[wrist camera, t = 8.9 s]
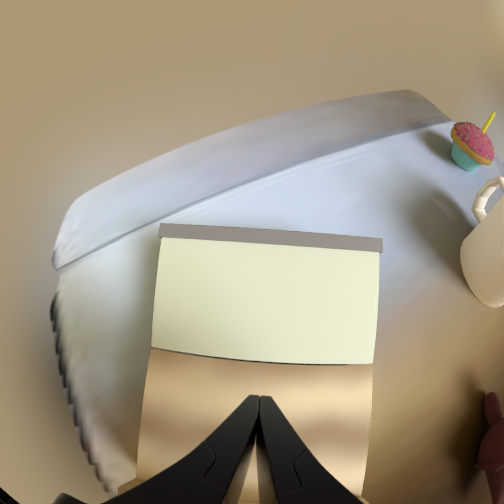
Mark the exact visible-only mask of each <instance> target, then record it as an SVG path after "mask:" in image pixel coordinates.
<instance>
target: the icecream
mask: <svg viewBox="0 0 504 504" xmlns="http://www.w3.org/2000/svg"><path fill="white" fill-rule="evenodd" d="M484 413H485V417H486V420H487V422H488V424H489V426H490V428H489V430H488V431H487V433H486V434H485V435H484V437H483V439H482V442H481V444H480V448H479V453H478V460H479V461H478V463H477V464H476V465H475V467H476V468H477V469H479V468H482V469H483V470H485V472H486V476H487V480H488V484H489V488H490V492H491V496H492V501H493V504H502V503H503V501H504V418H502V419H501V416H502V411H501V402H500V400H499V397H498V395H497V394H496V393H495V392H490V393H488V394H487V395H486V396H485V399H484Z"/></svg>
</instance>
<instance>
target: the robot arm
mask: <svg viewBox="0 0 504 504" xmlns="http://www.w3.org/2000/svg"><path fill="white" fill-rule="evenodd" d="M255 441H256V460H257V476H258V490H259V504H364V503H363V502H362V501H361V500H359V499H358V498H357V497H356V496H355V495H354V494H353V493H351V492H350V491H349V490H348V489H347V488H346V487H345V486H343V485H342V484H341V483H340V482H339V481H338V480H337V479H336V478H335V477H334V476H333V475H331V474H330V473H329V472H328V471H327V470H326V469H325V468H324V467H323V466H322V465H321V463H320V462H319V461H318V460H317V459H316V457H315V456H314V455H313V454H312V452H311V451H310V450H309V449H308V447H307V446H306V445H305V443H304V442H303V441H302V439H301V438H300V436H299V435H298V434H297V432H296V431H295V430H294V428H293V427H292V425H291V424H290V423H289V421H288V420H287V418H286V417H285V415H284V414H283V413H282V411H281V410H280V408H279V407H278V405H277V404H276V402H275V401H274V399H273V398H272V397H271V396H264V395H262V396H259V395H252V394H250V395H248V396H247V397H246V398H245V400H244V401H243V402H242V403H241V404H240V405H239V406H238V407H237V408H236V409H235V410H234V411H233V412H232V413H231V414H230V415H229V416H228V417H227V418H226V419H225V420H224V421H223V422H222V423H221V424H220V425H219V426H218V427H217V428H216V429H215V430H214V431H213V432H212V433H211V434H210V435H209V436H208V437H207V438H206V439H205V440H204V441H202V442H201V443H200V444H199V445H198V446H197V447H196V448H194V449H193V450H192V451H191V452H190V453H189V454H187V455H186V456H184V457H183V458H181V459H180V460H179V461H177V462H176V463H174V464H172V465H171V466H169V467H168V468H166V469H164V470H163V471H161V472H160V473H158V474H156V475H155V476H153V477H151V478H149V479H148V480H146V481H144V482H142V483H141V484H139V485H137V486H135V487H133V488H132V489H130V490H128V491H126V492H124V493H122V494H120V495H118V496H116V497H114V498H112V499H110V500H108V501H106V502H104V503H102V504H238V501H239V498H240V495H241V491H242V488H243V485H244V481H245V478H246V475H247V471H248V468H249V464H250V461H251V457H252V454H253V450H254V446H255ZM0 504H19V503H18V502H17V501H16V500H14V499H13V498H12V497H11V496H9V495H8V494H7V493H6V492H5V491H4V490H2V489H1V488H0ZM53 504H87V503H84V502H82V501H80V500H78V499H76V498H74V497H72V496H70V495H68V494H65V493H61V494H60V495H59V496H58V497H57V498H56V499H55V501H54V503H53Z"/></svg>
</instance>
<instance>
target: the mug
mask: <svg viewBox="0 0 504 504" xmlns="http://www.w3.org/2000/svg"><path fill="white" fill-rule="evenodd" d="M500 186H501V188H502V190H503V192H504V177H497V178H495V179H492V180H489V181H487V182H486V183H485V185H484V186H483V187H482V188H481V190H480V191H479V192H478V193H477V196H476V198H475V201H474V203H473V206H472V208H471V209H472V211H473V213H474V215H475V217H476V219H477V221H478V223H479V224H478V225H477V226H476V227H475V228H474V230H473V231H472V232H471V233H470V234H469V235H468V236H467V237H466V238H465V239H464V240H463V242H462V245H461V249H460V262H461V266H462V271H463V274H464V277H465V279H466V281H467V283H468V286H469V287H470V289H471V290H472V292H473V293H474V295H475V296H476V297H477V298H478V299H479V300H480V301H481V302H482V303H483V304H485V305H488V306H490V307H500V306H502V305H503V304H504V195H503V196H502V197H501V199H500V200H499V201H498V202H497V203H496V205H495V206H494V207H493V208H492V209H491V211H490V212H489V213H488V214H486V212H485V210H484V207H485V205H486V202H487V200H488V198H489V196H490V195H491V194H492V193H493V192H494V191H495V189H496V188H497V187H500Z"/></svg>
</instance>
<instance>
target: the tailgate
mask: <svg viewBox="0 0 504 504" xmlns="http://www.w3.org/2000/svg"><path fill="white" fill-rule="evenodd" d="M158 237H160V238H161V246H160V253H159V261H158V270H157V279H156V288H155V299H154V310H153V324H152V341H151V347H155V348H161V349H167V350H172V351H179V352H185V353H192V354H199V355H206V356H214V357H222V358H231V359H241V360H252V361H265V362H281V363H303V364H366V363H373V356H374V347H375V337H376V326H377V312H378V293H379V253H381V252H383V243H382V238H371V237H360V236H349V235H337V234H325V233H312V232H299V231H285V230H271V229H256V228H240V227H223V226H205V225H186V224H164V223H160V229H159V235H158Z"/></svg>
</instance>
